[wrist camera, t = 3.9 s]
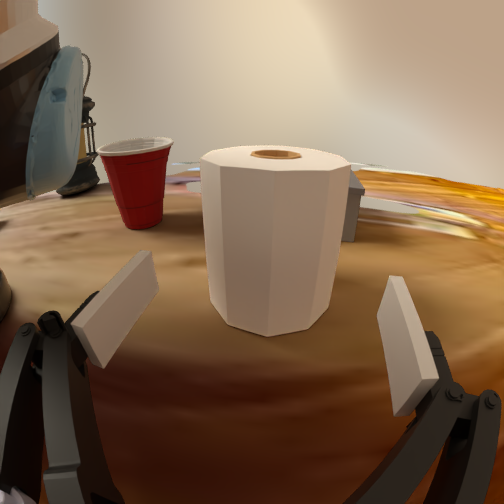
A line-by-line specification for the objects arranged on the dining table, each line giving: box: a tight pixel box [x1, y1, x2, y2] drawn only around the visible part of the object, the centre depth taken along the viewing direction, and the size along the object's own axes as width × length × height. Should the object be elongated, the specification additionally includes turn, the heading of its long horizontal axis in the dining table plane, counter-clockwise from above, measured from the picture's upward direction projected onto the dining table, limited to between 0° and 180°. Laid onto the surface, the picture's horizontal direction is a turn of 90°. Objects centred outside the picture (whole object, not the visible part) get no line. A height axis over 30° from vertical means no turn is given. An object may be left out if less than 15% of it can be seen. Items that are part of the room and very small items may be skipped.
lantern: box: [56, 53, 100, 195], centre depth 48 cm, size 14×13×35 cm
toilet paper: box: [200, 145, 351, 337], centre depth 21 cm, size 10×10×12 cm
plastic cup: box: [97, 137, 174, 229], centre depth 36 cm, size 11×11×12 cm
